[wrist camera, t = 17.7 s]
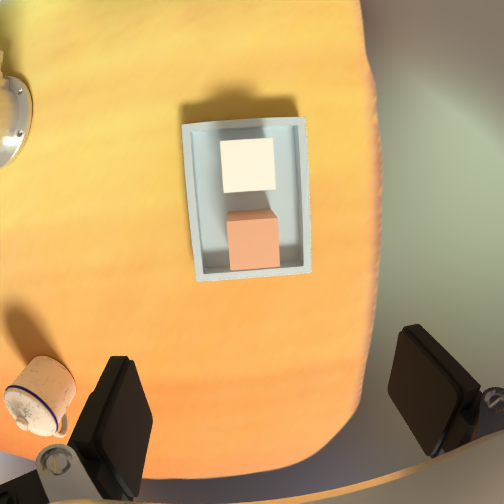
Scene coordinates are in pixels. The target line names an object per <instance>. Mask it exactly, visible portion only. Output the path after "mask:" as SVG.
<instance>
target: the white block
mask: <svg viewBox="0 0 504 504" xmlns="http://www.w3.org/2000/svg"><path fill="white" fill-rule="evenodd" d="M220 150H221V164H222V178H223V191H224V193H230V192H244V191H259V190H275V189H276V182H275V164H274V147H273V138H260V139H243V140H228V141H220Z"/></svg>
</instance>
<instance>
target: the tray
mask: <svg viewBox="0 0 504 504" xmlns="http://www.w3.org/2000/svg"><path fill="white" fill-rule="evenodd" d="M260 138H273V147H274V164H275V182H276V189H275V190H259V191H244V192H230V193H224V191H223V178H222V164H221V150H220V141H228V140H243V139H260ZM182 140H183V154H184V167H185V179H186V190H187V201H188V211H189V221H190V230H191V239H192V248H193V256H194V264H195V272H196V280H197V282H203V281H217V280H231V279H244V278H256V277H268V276H280V275H292V274H303V273H311V223H310V191H309V169H308V150H307V133H306V119H305V117H274V118H251V119H235V120H222V121H211V122H200V123H191V124H183V125H182ZM260 209H271V210H272V211H273V212H274V214H275V215H276V216H277V217H278V232H279V255H280V267H269V268H256V269H243V270H231V269H230V258H229V246H228V235H227V223H226V221H227V213H228V212H233V211H246V210H260Z"/></svg>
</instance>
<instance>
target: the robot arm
mask: <svg viewBox="0 0 504 504" xmlns="http://www.w3.org/2000/svg"><path fill="white" fill-rule="evenodd" d="M3 53H4V52H3V51H1V50H0V169H2V168H4V167H6V166H7V165H9V164H10V163H11V162H12V161H13V160H14V159H15V158H16V156H17V155H18V154H19V152H20V151H21V149H22V147H23V145H24V143H25V141H26V139H27V136H28V133H29V130H30V125H31V120H32V100H31V96H30V92H29V90H28V88H27V86H26V85H25V83H24V82H23V81H21V80H20V79H19V78H16V77H13V76H3V72H1V65H2V62H3ZM480 387H481V386H480V384H478V383H477V381H476V380H475V379H474V378H473V377H471V375H470V374H469V373H468V372H467V371H466V370H465V369H464V368H463V367H462V366H461V365H460V364H459V363H458V362H457V361H456V360H455V359H454V358H453V357H452V356H451V355H450V354H449V353H448V352H447V351H446V350H445V349H444V348H443V347H442V346H441V345H440V344H439V343H438V342H437V341H436V340H435V339H434V338H433V337H432V336H431V335H430V334H429V333H428V332H427V331H426V330H425V329H424V328H423V327H422V326H421V325H419V324H414V325H410V326H405V327H404V328H403V329H402V331H401V332H400V333H399V335H398V340H397V346H396V351H395V356H394V361H393V366H392V370H391V375H390V380H389V384H388V394H389V396H390V398H391V399H392V401H393V402H394V404H395V406H396V407H397V409H398V410H399V412H400V414H401V415H402V417H403V418H404V420H405V422H406V423H407V425H408V426H409V428H410V430H411V431H412V433H413V435H414V436H415V437H416V439H417V441H418V443H419V444H420V446H421V448H422V449H423V451H424V453H425V454H426V455H427V456H431V458H432V459H430V460H428V461H425V462H422V463H420V464H417V465H415V466H412V467H409V468H406V469H404V470H401V471H398V472H395V473H392V474H389V475H385V476H382V477H379V478H376V479H372V480H369V481H365V482H362V483H358V484H354V485H350V486H346V487H342V488H337V489H333V490H328V491H324V492H319V493H314V494H308V495H302V496H296V497H290V498H283V499H275V500H267V501H257V502H246V503H232V504H504V388H501V387H491V388H488V389H486V390H484V392H483V393H482V392H481V391H480V390H479V389H480ZM152 424H153V418H152V413H151V411H150V408H149V405H148V402H147V400H146V397H145V394H144V391H143V388H142V385H141V382H140V379H139V376H138V373H137V369H136V366H135V363H134V361H133V360H129V358H128V357H127V356H111V357H110V359H109V361H108V363H107V365H106V367H105V369H104V371H103V373H102V375H101V377H100V379H99V381H98V383H97V385H96V388H95V390H94V391H93V392H92V393H91V394H90V395H89V397H88V399H87V401H86V404H85V406H84V408H83V410H82V412H81V414H80V417H79V419H78V421H77V423H76V426H75V428H74V430H73V432H72V435H71V437H70V439H69V442H68V444H67V445H64V444H53V445H49V446H47V447H46V448H44V449H43V450H42V451H41V452H40V453H39V454H38V456H37V458H36V462H35V463H36V469H35V470H33V471H31V472H29V473H27V474H24V475H22V476H20V477H18V478H15V479H13V480H11V481H8V482H6V483H4V484H1V485H0V504H159V503H143V502H133V497H138V494H139V490H140V484H141V479H142V473H143V468H144V463H145V458H146V453H147V448H148V443H149V438H150V433H151V429H152Z"/></svg>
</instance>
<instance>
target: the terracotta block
mask: <svg viewBox="0 0 504 504" xmlns="http://www.w3.org/2000/svg"><path fill="white" fill-rule="evenodd" d="M226 223H227V235H228V246H229V258H230V269H231V270H243V269H256V268H269V267H280V255H279V232H278V217H277V216H276V215H275V214H274V212H273V211H272V210H271V209H260V210H246V211H233V212H228V213H227V221H226Z"/></svg>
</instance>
